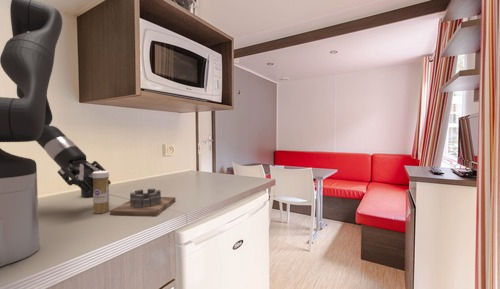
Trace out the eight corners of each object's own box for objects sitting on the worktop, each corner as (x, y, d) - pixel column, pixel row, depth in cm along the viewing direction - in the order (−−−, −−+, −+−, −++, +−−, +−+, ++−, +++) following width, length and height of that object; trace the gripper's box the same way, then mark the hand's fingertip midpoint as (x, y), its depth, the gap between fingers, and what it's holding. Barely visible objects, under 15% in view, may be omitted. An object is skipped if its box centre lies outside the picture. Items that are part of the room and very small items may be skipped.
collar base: (155, 216, 70) (155, 199, 69) (109, 215, 70) (109, 198, 70) (175, 201, 86) (175, 187, 85) (137, 200, 86) (137, 186, 86)
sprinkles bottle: (91, 214, 71) (89, 172, 70) (96, 209, 75) (95, 170, 74) (107, 213, 72) (106, 172, 71) (111, 208, 76) (110, 170, 76)
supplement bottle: (77, 198, 88) (77, 168, 88) (85, 193, 95) (84, 166, 94) (97, 197, 90) (96, 168, 90) (103, 192, 97) (103, 165, 96)
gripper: (52, 146, 66) (90, 185, 66) (89, 144, 80) (120, 176, 80) (36, 163, 66) (74, 202, 66) (76, 158, 81) (107, 190, 81)
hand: (99, 187), depth 73 cm, fingers open, 8 cm apart
